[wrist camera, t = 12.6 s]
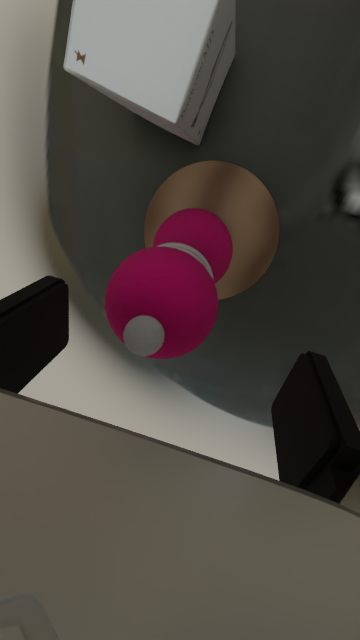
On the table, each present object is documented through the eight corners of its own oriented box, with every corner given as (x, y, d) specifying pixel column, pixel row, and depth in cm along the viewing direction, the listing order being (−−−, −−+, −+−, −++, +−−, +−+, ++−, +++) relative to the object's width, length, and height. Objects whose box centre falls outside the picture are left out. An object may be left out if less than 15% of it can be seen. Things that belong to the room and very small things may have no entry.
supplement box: (200, 148, 26) (174, 130, 15) (132, 112, 26) (56, 67, 15) (238, 54, 23) (240, -58, 12) (160, 10, 22) (86, -148, 11)
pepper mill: (151, 237, 29) (24, 331, 12) (201, 186, 26) (130, 212, 8) (195, 286, 31) (141, 431, 13) (247, 244, 27) (266, 365, 10)
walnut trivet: (298, 180, 26) (304, 181, 24) (250, 304, 33) (251, 313, 31) (161, 146, 27) (155, 144, 25) (142, 275, 34) (136, 282, 32)
